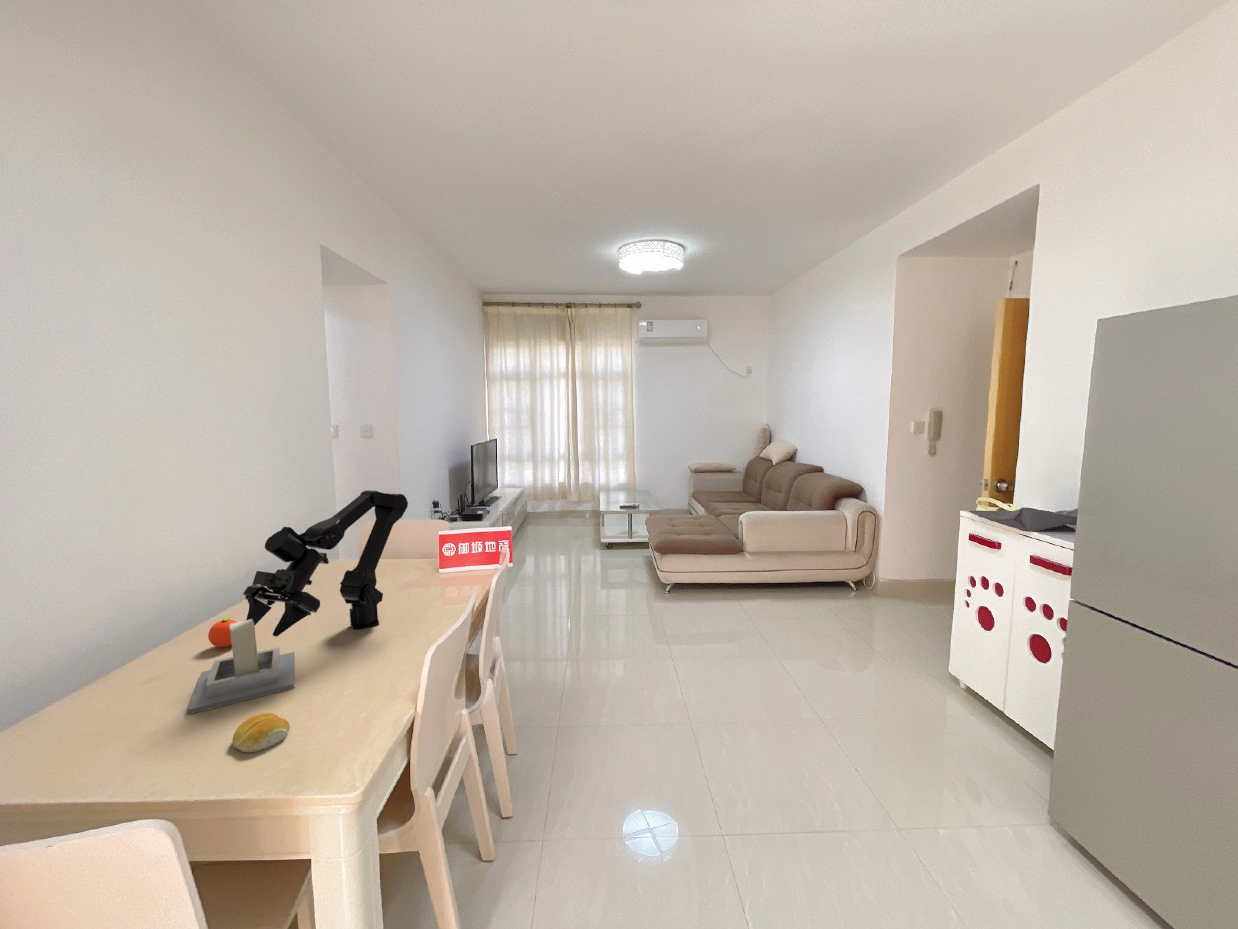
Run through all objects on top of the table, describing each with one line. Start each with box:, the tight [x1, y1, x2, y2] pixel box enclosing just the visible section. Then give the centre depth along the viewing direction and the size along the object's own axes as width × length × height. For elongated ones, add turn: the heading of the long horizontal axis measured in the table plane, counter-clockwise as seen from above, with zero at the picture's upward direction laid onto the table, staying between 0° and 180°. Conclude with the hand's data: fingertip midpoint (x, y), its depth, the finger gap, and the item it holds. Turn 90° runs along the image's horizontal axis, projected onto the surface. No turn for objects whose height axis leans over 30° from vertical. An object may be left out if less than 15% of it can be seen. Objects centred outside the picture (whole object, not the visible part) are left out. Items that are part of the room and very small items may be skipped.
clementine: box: [207, 617, 238, 648], centre depth 135 cm, size 8×7×7 cm
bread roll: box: [231, 712, 291, 753], centre depth 96 cm, size 8×9×4 cm
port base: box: [187, 651, 296, 715], centre depth 116 cm, size 18×18×1 cm
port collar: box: [206, 647, 281, 699], centre depth 116 cm, size 12×12×3 cm
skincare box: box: [230, 619, 259, 676], centre depth 115 cm, size 6×4×12 cm
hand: (259, 633), depth 119 cm, fingers open, 9 cm apart
